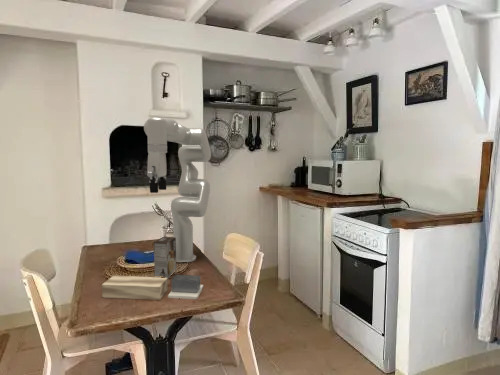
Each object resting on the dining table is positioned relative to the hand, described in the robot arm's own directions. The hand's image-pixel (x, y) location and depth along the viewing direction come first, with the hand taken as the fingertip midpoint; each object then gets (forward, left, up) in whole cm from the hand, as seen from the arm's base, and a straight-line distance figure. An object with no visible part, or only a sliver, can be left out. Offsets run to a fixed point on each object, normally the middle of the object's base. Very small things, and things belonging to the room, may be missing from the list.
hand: (158, 191), depth 138 cm
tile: (+10, +14, -38) cm, 42 cm away
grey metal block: (+10, +14, -37) cm, 41 cm away
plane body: (+13, -5, -38) cm, 41 cm away
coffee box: (-7, 0, -38) cm, 39 cm away
